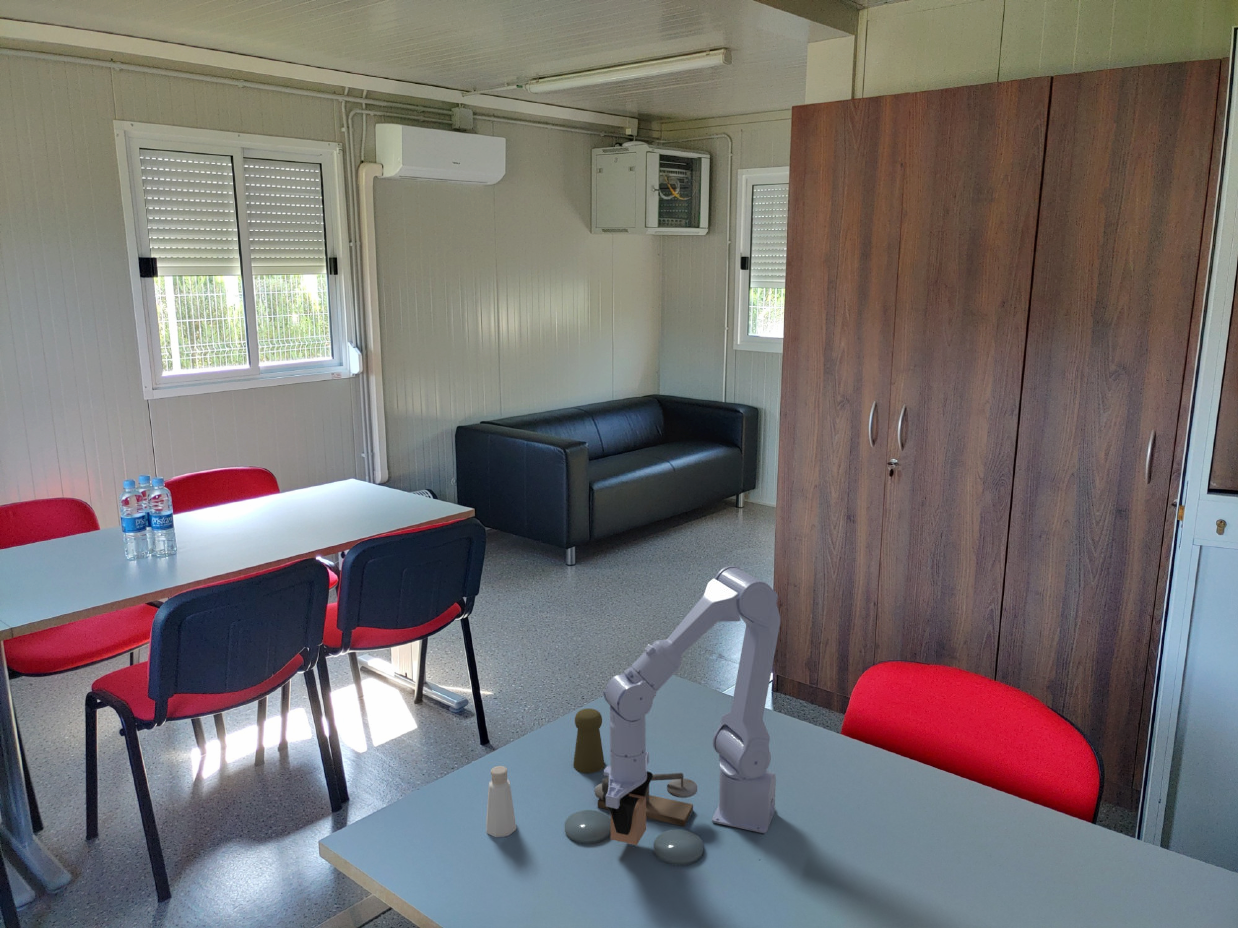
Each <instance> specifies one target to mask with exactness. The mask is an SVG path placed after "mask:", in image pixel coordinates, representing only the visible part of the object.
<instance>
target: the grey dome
mask: <svg viewBox="0 0 1238 928" xmlns="http://www.w3.org/2000/svg"><path fill="white" fill-rule="evenodd" d="M564 833H565V836H567V838H569V840H571V841H573V842H575V843H580V844H596V843H599V842H602V841H604V840H606V839H608V837H610V836H611V819H610V816H609V815H608V814H606V813H604V812H602V811H599V810H594V809H593V810H592V809H586V810H578V811H577V812H574V813H572V814H570V815H569V816H568V817H567V818H566V819H565V822H564Z"/></svg>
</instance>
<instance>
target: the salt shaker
mask: <svg viewBox="0 0 1238 928" xmlns="http://www.w3.org/2000/svg"><path fill="white" fill-rule="evenodd" d="M490 775H491V776H490V778H491V781H489V782H488V794H487V803H486V804H487V807H486V819H485V821H486V822H485V829H486V833H487V835H490V836H492V837H494V838H500V837H502V838H503V837H508V836H510V835H511V834H513V833H514V832H516V830H517V824H516V817H515V815H516V814H515V808H514V801H513V796H512V789H511V788H512V787H511V782H510V779H508V768H507V767H506V766H504V765H498V766H494V767H493V768H492V769H491V770H490Z"/></svg>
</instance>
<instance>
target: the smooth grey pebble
mask: <svg viewBox="0 0 1238 928" xmlns="http://www.w3.org/2000/svg"><path fill="white" fill-rule="evenodd" d="M703 852H704V843H703V840H702V839H701V838H700V836H699V835H697V834H695V833H694V832H691V831H689V830H685V829H670V830H667V831H663V832H661V833H660V834H658V835H657V836H656V838H655V839H654V842H653V853H654V855H655V856H656V857H657V858H658V860H660V861H661V862H664V863H665V864H668V865H671V866H672V865H673V866H688V865H690V864H694V863H696V862H698V861H699V860H700V859H701V858H702V856H703V854H704V853H703Z"/></svg>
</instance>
